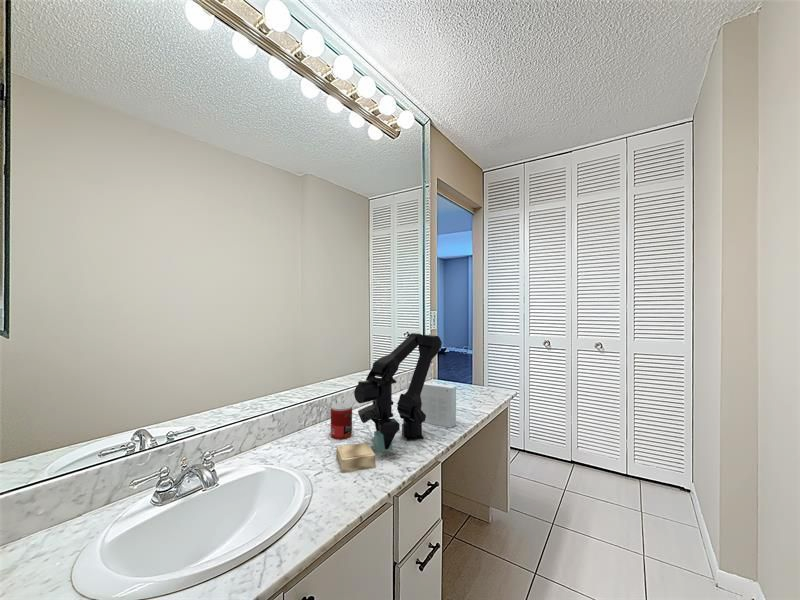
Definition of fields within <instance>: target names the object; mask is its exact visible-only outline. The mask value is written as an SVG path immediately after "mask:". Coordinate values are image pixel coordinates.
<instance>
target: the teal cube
mask: <svg viewBox="0 0 800 600" xmlns="http://www.w3.org/2000/svg"><path fill="white" fill-rule="evenodd" d="M373 446H374V448H375V450H376V452H385V451H391V450H392V451H393V441H392V442H391V444H390V447H389V449H385V446H384V439H383V434H382V433H381V432H380V431H376V430H375V431H373Z"/></svg>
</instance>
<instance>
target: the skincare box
mask: <svg viewBox="0 0 800 600" xmlns="http://www.w3.org/2000/svg"><path fill="white" fill-rule="evenodd" d="M410 383H411V380H410V381H407V382H406V385H407V386H406V392H407V391H408V389H409V386H410ZM420 396H421V402H422V406H421V410H422V411H423V412H424V414H425V415H426V419H425V421H424V422H423V423H424V424H429V425H435V426H439V427H444V428H448V429H452V428H453V427H456V424H457V420H456V419H457V386H456V385H449V384H441V383H434V382H428V381H427V382H426V381H425V382H424V385H423V389H422V392H421V395H420Z"/></svg>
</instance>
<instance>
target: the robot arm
mask: <svg viewBox="0 0 800 600" xmlns="http://www.w3.org/2000/svg"><path fill="white" fill-rule="evenodd" d="M442 345H443V343H442V339H441V338H440V336H438V335H429V334H421V333H417V332H412V333H409V335H408V337H406V339H404V340H403V341H402V342H401V343H400V344H399V345H398V346H397V347H396V348H395V349H394V350H392V352H390V353H388V354H387V355H383V356H381V357H380V358H378V359H377V360H375V361H374V362H373V363H372V367H371V369H370V371H369V373H368V374H367V376H366V378H365V380H364V381H363V380H359V381H358V382H357V383H358V384H357V385H356V386H355V388H354V390H353V395H354V396H353V397H354V398H355V401H356V402H357V403H358V404H363V403H368V402H372V404H370V405H367V406H365V407H362V408H360V409H359V410H357V413H358V416H359V419H360V422H362V424H365V423H367V422H368V421H372V422H373V423H374V426H375V431H380V432H381V433H382V434H383V439H384V446H385V449H389V447H390V444H391V442H392V443H393V440H394V438H395V436H396V434H397V433H398V432H399V431H400V428H401V435H402V436H403V437H404V439H405V440H406V441H413V440H414V441H415V440H422V439H424V438H425V437H424V436H423V427H422V426H423V423H424V421H425V419H426V415H425V414H424V412H423V411H422V410H421V406H422V402H421V396H420V395H421V392H422V389H423V385H424V382H426V379H427V376H428V372H429V369H430V366H431V363H432V361H433V359H434V357H437V355H438V354H439V352H440V350H441V348H442ZM417 347H418V352H419V353H418V354H419V356H418V359H417V361H416V364H415V368H414V370H413V374H412V378H411V380H410V381H411V383H410V386H409V389H408V391H407V390H406V392H405V393H401V394H400V395H399V399H398V402H396V405H397V407H396V408H397V409H396V410H397V412H398V414H399V419H403V420H402V421H403V422H402V424H401V426H400V423H399V422H398V421H397V419H395V418H394V413H393V412H392V411H393V410H392V406H393V405H394V401H393V400H392V396H393V394H392V393H393V391H392V390H393V384H397V382H398V381H397V380H395V379H394V376H395V375H396V373H397V372H398V369H399V366H400V364H401V363H402V362H403V361H404V360H405V359H406V358H407V357H408V356H410V354H411V353H412V352H413V351H414V350H415V349H416V348H417Z"/></svg>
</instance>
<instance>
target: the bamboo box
mask: <svg viewBox="0 0 800 600" xmlns="http://www.w3.org/2000/svg"><path fill="white" fill-rule="evenodd" d="M335 450H336V458H335V459H336V461H337V463H338V465H339V468H340V471H341V473H342V474H344V473H350V472H356V471H362V470H368V469H375V468H376V453H375V451H373V449H372V447H371V446H370V445H369V443H368V442H367V441H366V442H359V443H353V444H346V445H337V446H336V449H335Z"/></svg>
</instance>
